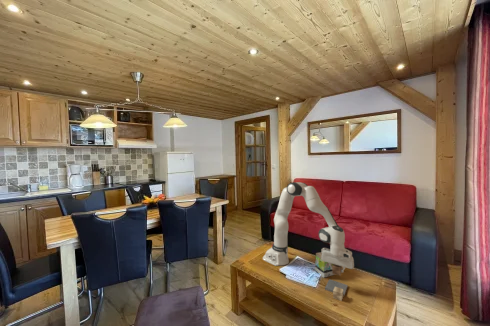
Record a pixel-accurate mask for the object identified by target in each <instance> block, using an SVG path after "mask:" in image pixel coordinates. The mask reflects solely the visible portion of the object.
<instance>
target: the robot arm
mask: <svg viewBox="0 0 490 326" xmlns="http://www.w3.org/2000/svg"><path fill="white" fill-rule="evenodd" d="M301 196H302V197H303V199H304V201H305V204H306V206H307V208H308V209H309V211H311V212H312V213H317V214H319V215H320V216H323V219H324V220H325V222H326V224H327V225H328V227H327V226H325V227H323V228H320V229H319V230H318V233H317V234H318V238H319V240H320V241H322V242H323V243H326V244H329V246H330V248H327V247H322V248H321V252H322V261H324V262H328V263H329V265H330V267H331V269H332V264H335V265H339V266H342V269H341V272H342V273H341V274H343V273H344V272H345V271H344V270H345V269H346V268H347V269H350V270H353V269H354V268H355V260H354V257H353V252H352V251H351V250H349V249H347V248H345V247H346V246H345V242H346V241H345V239H346V234H345V230H344V229H343V227H341V226H339V224H338V223H337V222H336V220H335V218H334V216H333V214H332V213H331V211H330V209H329V207H327V206H326V205H325V204H324V202H323V201H322V200H321V197H320V194H319V193H318V192H317V189H316V188H315V187H314V186H313V185H308V184H306V183H305V182H300V181H299V182H297V181H296V182H295V181H294V182H292V181H291V182H289V183H288V184H287V186H286V187H284V188H283V189H282V191H281V193H280V196H279V202H278V204H277V208H276V210H275V214H274V218H273V223H274V232H273V233H274V235H273V243H272V244H271V247H270V248H269V249H267V250H266V251H265V254H264V255H263V256H262V260H263V261H264V262H266V263H269V264H270V265H273V266H275V267H277V266H286V265H288V264H289V263H290V259H289V253H288V252H289V245H288V233H289V232H288V231H289V222H288V217H289V215H290V213H291V211H292V207H293V202H294V198H295V197H301Z"/></svg>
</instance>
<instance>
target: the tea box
mask: <svg viewBox="0 0 490 326" xmlns="http://www.w3.org/2000/svg"><path fill="white" fill-rule="evenodd" d="M332 266H333V264H332ZM315 270H316V271H317V272H318V273H320V274H321V275H320V274H319V275H320V276H321V277H322V278H327V277H330V276H334V275H335V276H337V275H336V274H332V269H331V267H330V265H329V263H328V262H324V261H322V251H321V252H316V253H315V266H314V271H315ZM316 271H315V272H316ZM317 272H316V273H317ZM318 273H317V274H318Z"/></svg>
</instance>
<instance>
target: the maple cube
mask: <svg viewBox="0 0 490 326" xmlns="http://www.w3.org/2000/svg"><path fill="white" fill-rule="evenodd" d="M332 296H333V297H332V298H333V299H335V300H337V301H340V302H342V301H343V298H344V296H343V289H341V288H338V287H335V288H334V290H333V292H332Z"/></svg>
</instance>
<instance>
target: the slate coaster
mask: <svg viewBox="0 0 490 326" xmlns="http://www.w3.org/2000/svg"><path fill="white" fill-rule="evenodd" d="M335 287H338V288H341V289H343V297H345V295H346V293H347V290H348V284H345V283H343V282H340V281H337V280H333V279H328V281H327V283H326V284H325V287H324V290H325V291H328V292H331V293H333V290H334V288H335Z"/></svg>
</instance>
